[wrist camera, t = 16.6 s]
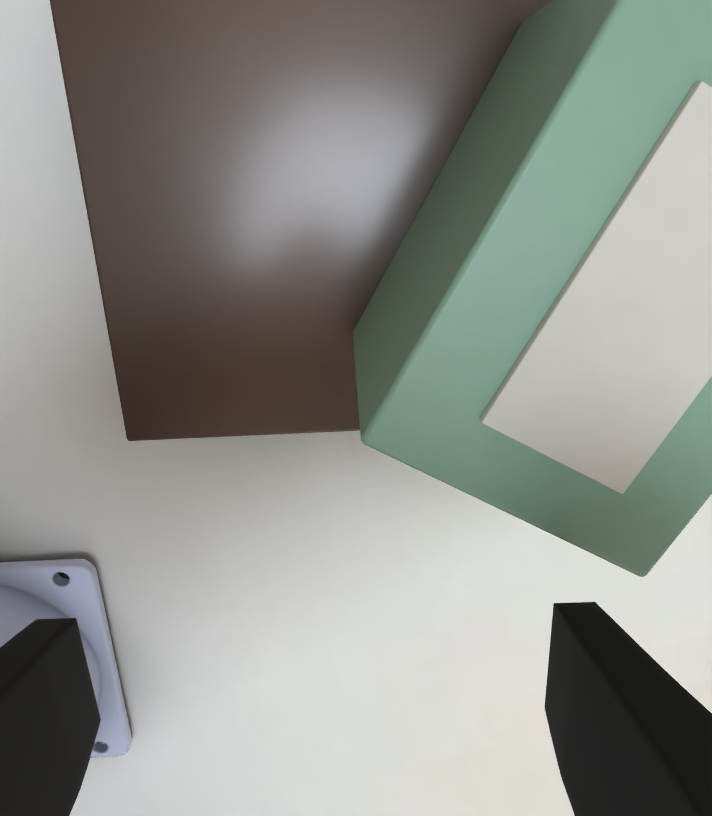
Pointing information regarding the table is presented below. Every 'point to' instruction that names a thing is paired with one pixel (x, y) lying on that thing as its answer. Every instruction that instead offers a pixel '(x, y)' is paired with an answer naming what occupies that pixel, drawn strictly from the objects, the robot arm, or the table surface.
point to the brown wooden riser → (259, 187)
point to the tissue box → (564, 287)
